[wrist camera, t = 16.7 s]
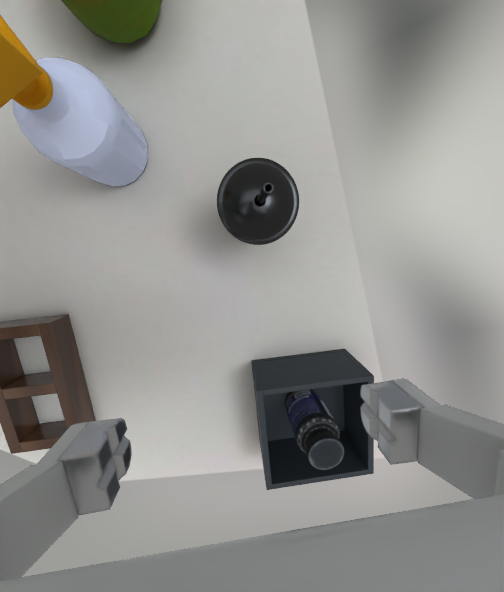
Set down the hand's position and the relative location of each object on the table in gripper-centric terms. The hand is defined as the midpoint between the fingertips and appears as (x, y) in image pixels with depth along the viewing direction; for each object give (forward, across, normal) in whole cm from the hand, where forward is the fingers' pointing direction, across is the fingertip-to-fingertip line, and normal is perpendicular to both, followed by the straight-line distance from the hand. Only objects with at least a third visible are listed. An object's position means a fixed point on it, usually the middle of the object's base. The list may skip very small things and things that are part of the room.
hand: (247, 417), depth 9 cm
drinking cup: (+31, -3, -9) cm, 32 cm away
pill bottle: (+30, -9, +21) cm, 38 cm away
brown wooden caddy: (+31, +30, +12) cm, 44 cm away
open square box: (+30, -9, +21) cm, 38 cm away
